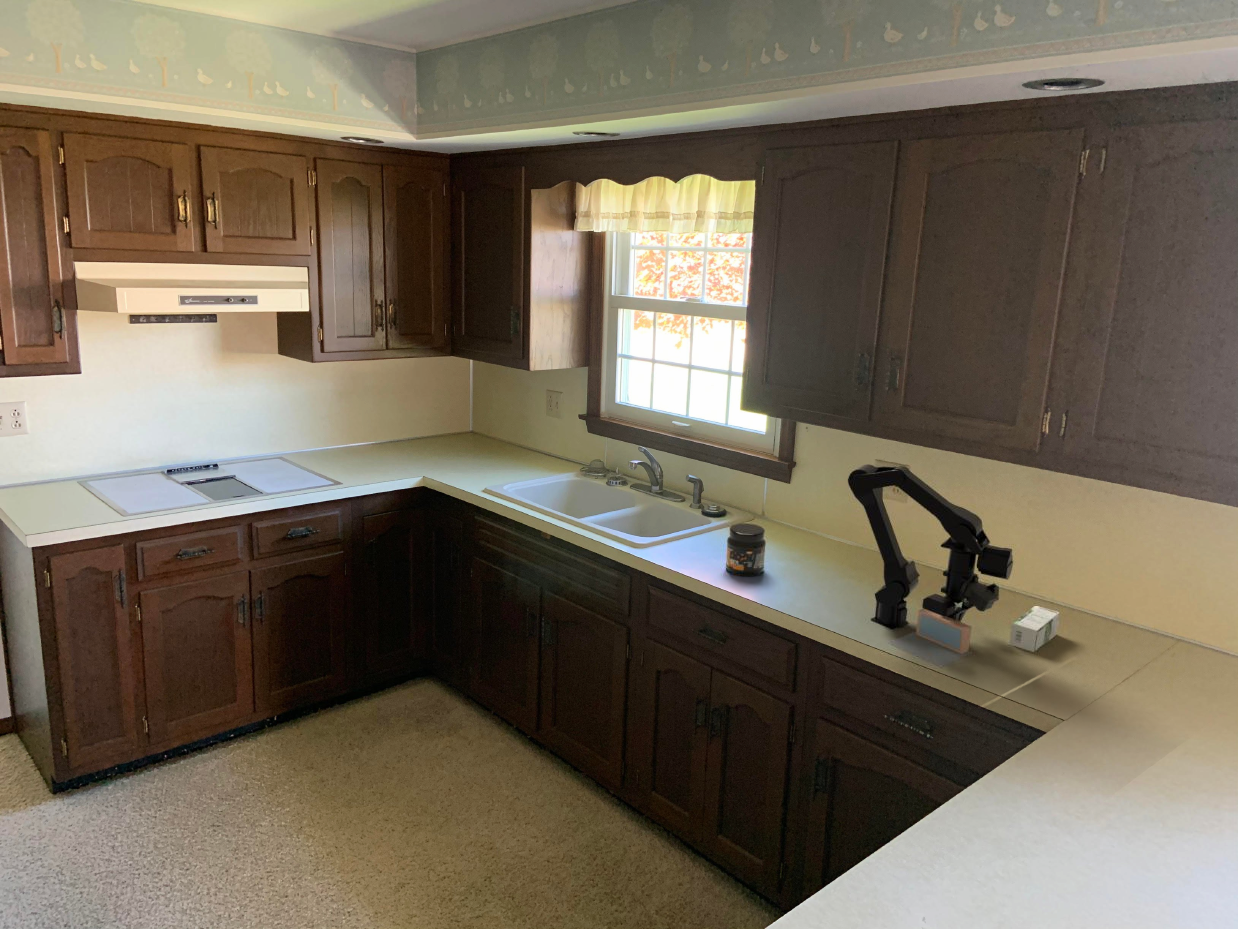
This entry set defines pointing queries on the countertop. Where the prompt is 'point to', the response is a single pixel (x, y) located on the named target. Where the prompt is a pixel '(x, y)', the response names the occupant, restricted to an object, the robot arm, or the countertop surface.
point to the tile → (943, 631)
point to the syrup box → (1034, 628)
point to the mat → (927, 649)
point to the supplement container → (745, 549)
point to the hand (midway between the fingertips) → (952, 631)
